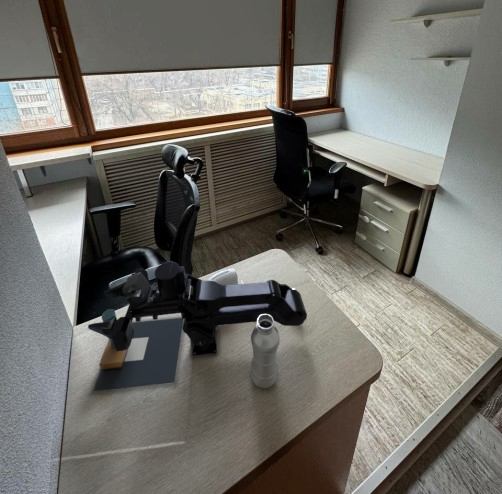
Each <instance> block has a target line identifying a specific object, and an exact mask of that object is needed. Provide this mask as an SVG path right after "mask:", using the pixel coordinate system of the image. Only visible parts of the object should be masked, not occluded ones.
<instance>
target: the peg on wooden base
mask: <svg viewBox="0 0 502 494" xmlns="http://www.w3.org/2000/svg"><path fill="white" fill-rule="evenodd" d="M115 317H116V318H117V319H118V316H117V314H116V311H115V309H113V308H108V309H106V310H105V311H104V312H103V313H102V314H101V320H102V322H108V321H111V320H112V319H113V318H115ZM132 326H133V324H132ZM133 329H134V328H133ZM107 340H108V341H107V344H106V346H105V349H104V351H103V354H102V357H101V358H100V362H99V364H98V365H99V368H100V370H101V369H103V371H110V370H119V369H122V367H123V364H124V361H125V358H126V355H127V351H128V348H127V349H126V350H124V351H116V348H115V346H114V343H113V340H111V339H110V338H108V337H107Z"/></svg>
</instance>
